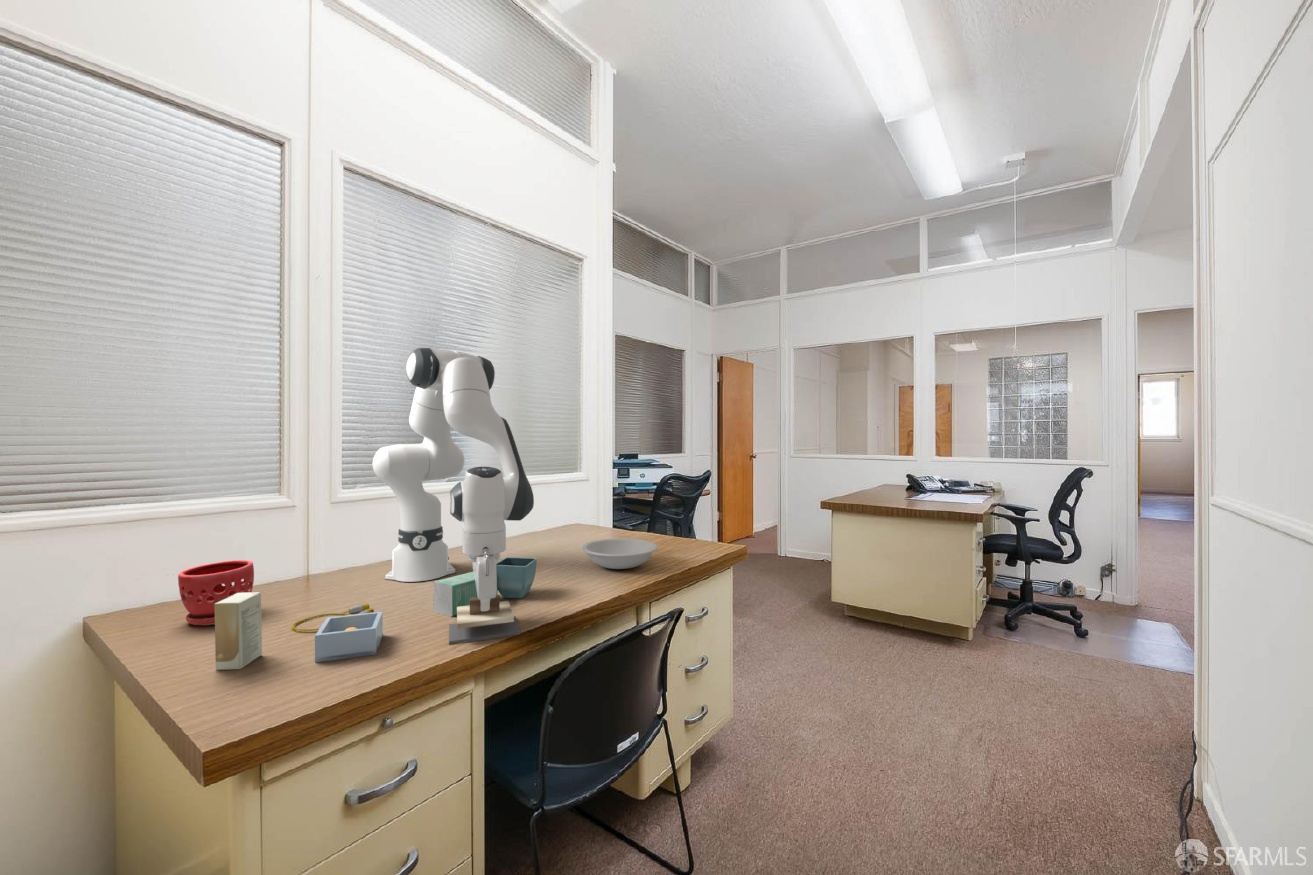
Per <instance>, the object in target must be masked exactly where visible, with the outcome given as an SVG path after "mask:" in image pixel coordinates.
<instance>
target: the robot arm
mask: <svg viewBox="0 0 1313 875" xmlns="http://www.w3.org/2000/svg"><path fill="white" fill-rule="evenodd" d="M405 365H406V366H405V368H406V370H405V371H406V375H407V379H408V381H409V382H410V383H411V385H413V386H415V387H416V388H415V391H414V394H413V397H412V398H413V399H412V402H411V403H412V404H411V407H410V412H409V416H408V422H409V426H410V428H411V430H412V431H413V432H415V433H416V434H417V435H419V436H421V437H422V438H423V441H422V442H421V443H397V444H391V445H386V446H383V447H380V448H378V450H376V452H375V454H374V456H373V458H372V463H371V464H372V469H373V473H374V474H375V476H376V477H377V478H378V479H379V480H380V481H382V482H383V483H385V484H386V485H387V486H388V487H389V488H390V489H391V490H392V491H393V493H394V495H395V497H396V499H397V502H398V510H399V529H398V533H397V538H398V539H397V540H398V544H397V546H395V547H394V548H393V549H392V557H391V558H392V561H391V564H392V566H391V567H392V568H391V570H390V571H389V572H388V573H386V574H385V580H393V581H397V582H403V583H405V582H406V583H409V582H410V583H414V582H425V581H431V580H435V579H439V578H442V577H445V576H447V575H452V574H455V573H456V568H455V567H454V566H453V565H452V564H451V563H450V561H449V560H450V557H449V546H448V545H447V544H446V543H445V542H444V540H443V538H444V530H443V528H444V527H443V526H442V502H441V501H440V499H439V497H437V496H436V495H434V494H432V493H430V492H428V491H425V488H424V486H423V482H424V481H425V482H426V481H438V480H439V481H440V480H445V479H446V480H447V479H448V478H449V479H450V478H453V477H456V476H458V475H460V474H461V472H462V471H463V469H464V466H465V456H464V453H463V450H462V449H461V448H460V447H459V446H458V445H456V444H455V442H454V441H453V438H452V434H451V429H453V430H455V432H457V433H459V434H461V435H463V436H465V437H467V438H468V437H469V438H472V439H475V440H478V441H480V442H484V443H486V444H487V445H489V446H491V447H492V448H493V449H494V450H495V451H496V452H497V455H498V457H499V461H500V464H501V467H502V471H503V472H502V471H501V469H498V468H497V467H493V466H492V467H491V466H474V467H472V468H471V467H470V468H469V469H467V470H465V472H464V473H465V474H464V479H463V480H462V481H459V482H457V484H455V485H454V486H453V487H452V488H451V489H450V490H449V492H450V493H449V494H450V509H449V511H450V512H449V514H450V515H451V516H452V517H453V518H454V519H455V520H457V521H458V522H463V526H462V553H463V554H464V555H466V556H468V561H470V562H471V564H472V572H474V577H475V583H476V590H477V596H478V599H480V608H481V611H488V610H489V609H490V599H491V598H495V597H496V595H498V592H497V569H496V563H497V561H498V560H499V559H501V553H504V552H505V551H506V550H507V546H506V545H507V539H506V538H507V536H506V535H507V532H506V531H507V530H506V528H507V527H506V523H505V521H515V522H516V521H518V522H519V521H522V520H523V519H525V518H526V517H527V516H528V515H529V514H530V513H531V511H532V510H533V508H534V504H535V500H534V493H533V489H532V486H531V483H530V481H529V479H528V477H527V475H526V472H525V469H524V467H523V463H522V461H521V456H520V454H519V450H518V447H517V444H516V441H515V438H514V434H513V432H512V430H511V427H510V425H509V422H508V421H507V419H505V418H504V417H502V416H501V415H500V414H498V412H497V411H496V409H495V408H494V406H493V404H492V401H491V393H490V390H491V389H492V388H493V386H494V381H495V374H496V373H495V367H494V365H493V363H492V361H491V360H489V359H487V358H485V357H482V356H480V355H477V356H476V355H473V354H469V353H465V352H463V351H457V350H454V351H452V350H446V349H434V348H433V349H432V348H430V347H418V348H415V349H414V350H413V351H411V353H410V355H409V356H408V359H407V361H406V364H405ZM503 474H504V475H503ZM504 477H505V478H504Z"/></svg>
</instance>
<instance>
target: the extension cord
mask: <svg viewBox="0 0 1313 875" xmlns="http://www.w3.org/2000/svg"><path fill="white" fill-rule="evenodd" d="M373 612H375V610H374V609H373V608H371V607H370V604H369V603H364V604H362V603H361V604H357V605H354V606H353V607H350V608H349V609H348V610H346V611H344V612H339V613H338V612H331V613H322V614H315V615H314V616H313V615H312V616H309V617H307V618H304V619H301V620H298V621H296V622H294V623H293V624H292V625H291V629H292V631H293V632H294V633H297V632H298V633H299V634H300V633H301V634H312V633H314V634H316V633H317V632H318V630H319V629H320V628H307V629H306V628H298V627H297V626H298V625H301V623H304V621H305V622H307V620H308V621H311V620H313V618H314V619H319V618H322V617H326V616H327V617H329V616H330V615H331V616H332V615H333V616H336V615H337V616H346V615H350V614H357V613H358V614H364V613H373ZM310 619H311V620H310ZM296 625H297V626H296ZM296 627H297V628H296Z"/></svg>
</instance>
